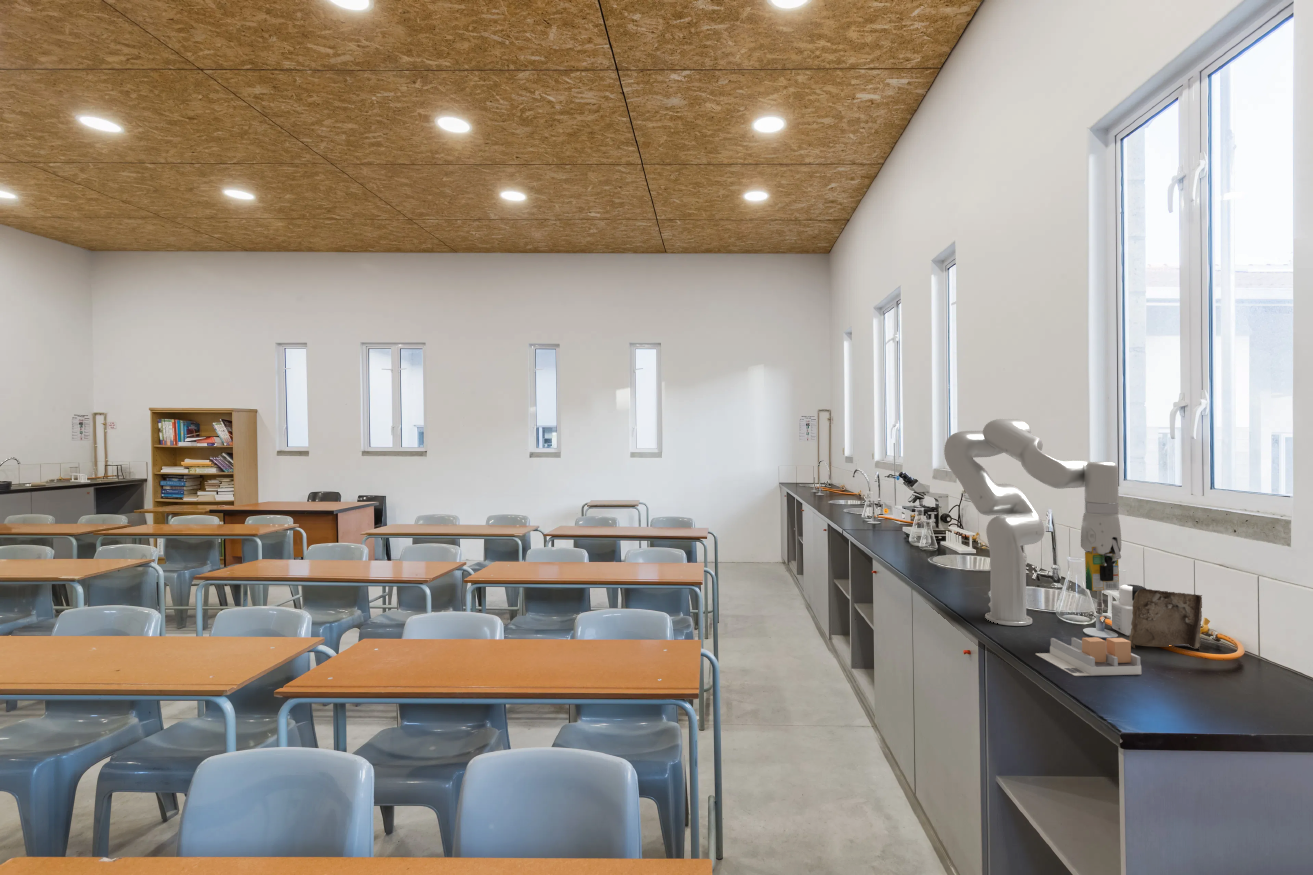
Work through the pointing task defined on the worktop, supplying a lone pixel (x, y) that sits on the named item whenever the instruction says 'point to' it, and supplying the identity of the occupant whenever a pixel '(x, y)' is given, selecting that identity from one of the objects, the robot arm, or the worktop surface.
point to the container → (1124, 608)
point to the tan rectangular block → (1094, 648)
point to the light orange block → (1119, 649)
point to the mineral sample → (1165, 618)
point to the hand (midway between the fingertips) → (1101, 578)
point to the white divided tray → (1087, 661)
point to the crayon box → (1093, 573)
